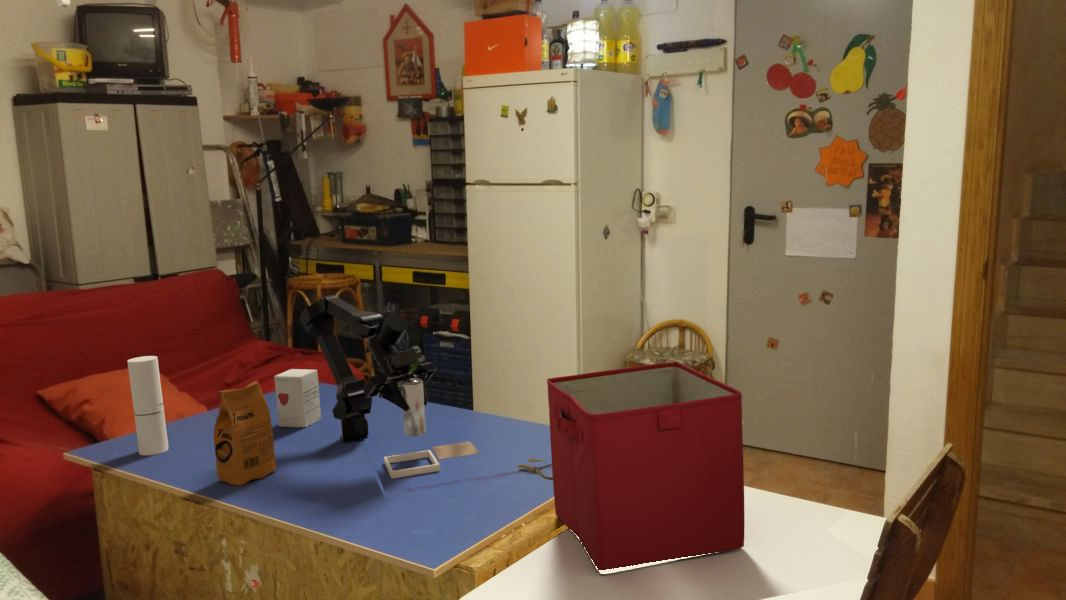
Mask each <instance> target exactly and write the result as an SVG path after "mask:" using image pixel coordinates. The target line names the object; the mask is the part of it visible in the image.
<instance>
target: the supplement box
mask: <svg viewBox="0 0 1066 600" xmlns="http://www.w3.org/2000/svg"><path fill="white" fill-rule="evenodd" d="M318 374H319V373H318V370H317V369H307V368H306V369H305V368H304V369H303V368H302V369H300V368H290V369H287V370H286V371H283V372H281V373H278V374H276V375H274V387H275V397H276V398H275V399H276V408H277V416H278V417H277V418H278V427H284V428H286V427H287V428H300V427H302V428H303V429H304V427H306V428H307V427H309V425H310V426H311V425H313V424H315V423H317V422H318V421H321V420H322V411H321V410H322V409H321V402H320V401H321V400H320V391H319V390H320V385H319V375H318Z"/></svg>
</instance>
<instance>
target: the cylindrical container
mask: <svg viewBox="0 0 1066 600" xmlns="http://www.w3.org/2000/svg"><path fill="white" fill-rule="evenodd" d="M158 358H159V357H158V356H156V355H146V356H145V355H143V356H137V357H133V358H130V359H127V369H128V376H129V385H130V391H131V393H130V394H131V399H132V407H133V416H134V421H135V422H134V425H135V431H136V438H137V439H136V440H137V447H138V453H139V455H140V456H155V455H159V454H162V453H163V454H164V453H165V452H167V451H168V450H169V449H170V448H169V439H168V434H167V425H166V424H167V423H166V416H165V407H164V401H163V400H164V399H163V392H162V391H163V390H162V385H161V383H162V382H161V377H160V376H161V375H160V367H159V359H158Z"/></svg>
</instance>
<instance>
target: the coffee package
mask: <svg viewBox="0 0 1066 600" xmlns="http://www.w3.org/2000/svg"><path fill="white" fill-rule="evenodd" d="M218 397H220V400H221V402H220V405H219V409H218V414H217V417H216V419H215V423H214V427H213V443H214V455H215V465H216V476H217V477H218V480H220V481H221V482H225V483H226V484H230V485H232V486H239V487H240V486H243V485H244V484H247V483H249V482H251V481H252V480H261V479H262V478H265V477H267V476H268V475H270V474H271V473H273V472H276V470H277V468H276V467H277V463H276V455H275V444H274V442H275V441H274V433H273V427H272V425H273V424H272V419H271V413H270V412H271V411H270V409H269V405H268V403H267V400H266V398H265V396H264V394H263V391H262V387H261V386H260V384H259V381H258V380H255V381H253V382H251V383H249V384H247V386H244V387H243V388H236V389H235V388H234V389H226V390H219V391H218Z"/></svg>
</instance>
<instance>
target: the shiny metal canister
mask: <svg viewBox="0 0 1066 600" xmlns="http://www.w3.org/2000/svg"><path fill="white" fill-rule="evenodd" d="M400 384H401V385H400V386H401V395H402V397H403V398H404V400H405V402H406V404H407V406H408V408H409V409H408V411H404V410H403V409H402V417H403V432H404V433H403V434H404V435H405V436H408V437H417V436H418V437H419V436H422V435H425V434H426V433H427V429H426V427H427V426H426V412H425V411H426V409H425V406H424V390H423V381H422V379H419V378H410V379H405V380H403V381H402V383H400Z"/></svg>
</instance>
